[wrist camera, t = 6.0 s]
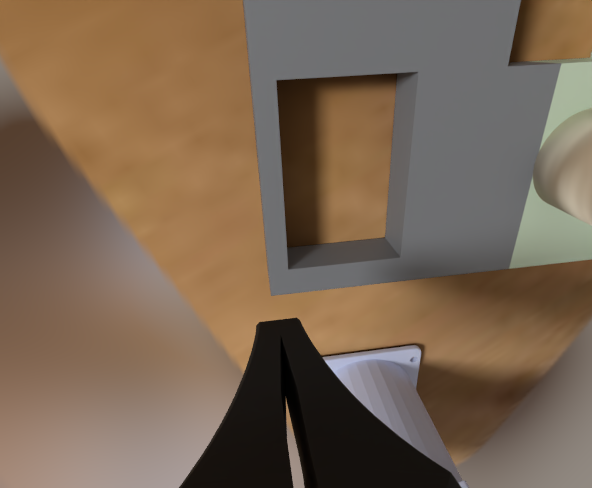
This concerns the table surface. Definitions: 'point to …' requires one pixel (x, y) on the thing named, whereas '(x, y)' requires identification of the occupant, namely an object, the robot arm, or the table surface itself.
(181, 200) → the table surface
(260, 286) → the table surface
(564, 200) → the beige rounded cylinder
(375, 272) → the trap deck
